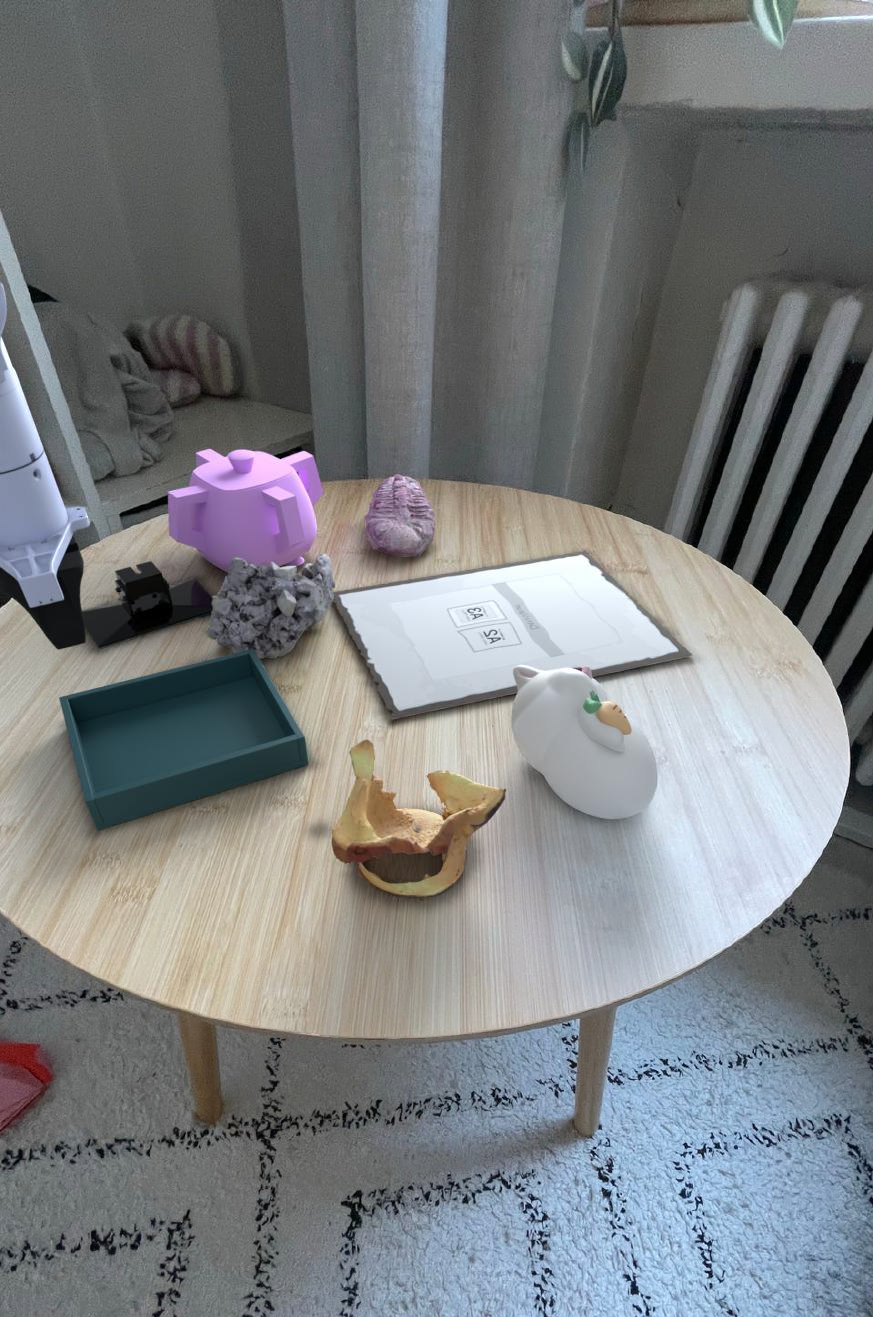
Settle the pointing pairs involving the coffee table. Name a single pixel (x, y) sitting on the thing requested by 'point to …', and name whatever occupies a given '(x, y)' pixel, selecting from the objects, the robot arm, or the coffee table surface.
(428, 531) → the fossil
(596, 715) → the cat figurine
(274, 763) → the tray
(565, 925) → the coffee table surface
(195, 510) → the pot
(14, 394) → the robot arm
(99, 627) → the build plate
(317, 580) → the mineral specimen
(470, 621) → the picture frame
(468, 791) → the bone
